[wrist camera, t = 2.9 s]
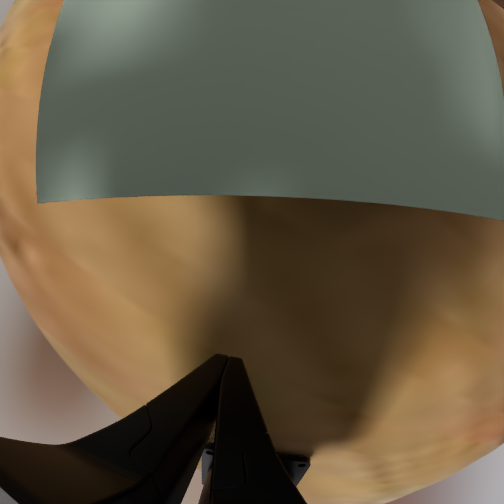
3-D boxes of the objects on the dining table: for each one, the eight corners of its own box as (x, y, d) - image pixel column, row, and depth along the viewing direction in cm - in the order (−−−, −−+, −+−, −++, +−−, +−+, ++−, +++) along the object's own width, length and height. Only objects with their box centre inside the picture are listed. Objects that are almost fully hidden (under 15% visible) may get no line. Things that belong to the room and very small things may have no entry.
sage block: (427, 198, 9) (504, 220, 4) (119, 187, 10) (37, 203, 6) (419, 35, 7) (471, -13, 3) (129, 33, 8) (67, -8, 4)
